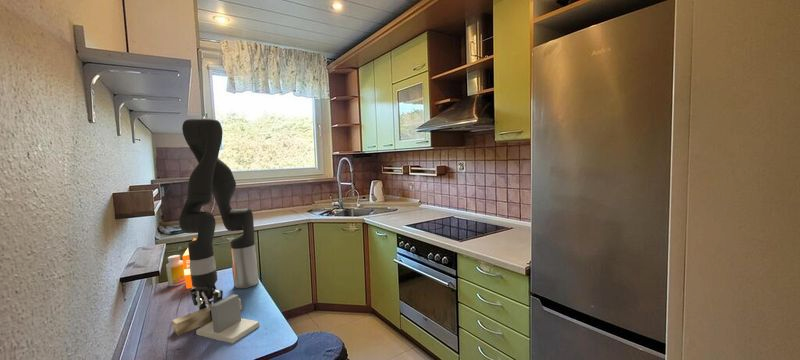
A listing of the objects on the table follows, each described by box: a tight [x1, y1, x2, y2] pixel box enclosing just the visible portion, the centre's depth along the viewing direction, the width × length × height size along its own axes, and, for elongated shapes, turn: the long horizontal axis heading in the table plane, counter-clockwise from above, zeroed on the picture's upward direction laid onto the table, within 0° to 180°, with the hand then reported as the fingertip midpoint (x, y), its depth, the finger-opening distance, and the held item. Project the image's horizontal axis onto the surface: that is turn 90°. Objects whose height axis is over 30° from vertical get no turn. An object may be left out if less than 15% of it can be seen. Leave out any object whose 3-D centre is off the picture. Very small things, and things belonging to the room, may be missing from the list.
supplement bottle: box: [165, 254, 186, 287], centre depth 148 cm, size 7×7×13 cm
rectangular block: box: [172, 297, 243, 336], centre depth 111 cm, size 20×4×4 cm, turn 140°
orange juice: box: [181, 237, 197, 290], centre depth 146 cm, size 8×9×20 cm
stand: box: [195, 293, 260, 345], centre depth 103 cm, size 16×10×10 cm, turn 66°
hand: (209, 318), depth 112 cm, fingers closed on rectangular block, 4 cm apart
